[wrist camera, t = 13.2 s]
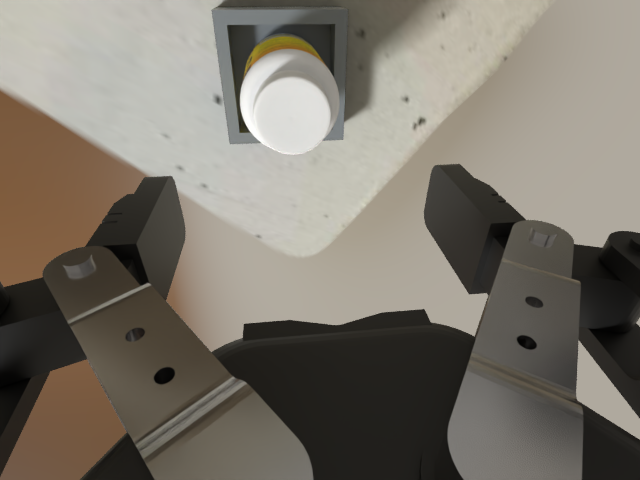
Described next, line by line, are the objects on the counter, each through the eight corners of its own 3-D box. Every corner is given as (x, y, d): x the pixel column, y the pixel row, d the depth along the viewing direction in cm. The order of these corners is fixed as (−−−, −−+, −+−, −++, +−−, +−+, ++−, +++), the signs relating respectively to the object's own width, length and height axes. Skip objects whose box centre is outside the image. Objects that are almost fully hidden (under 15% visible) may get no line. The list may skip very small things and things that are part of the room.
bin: (216, 7, 25) (211, 9, 23) (340, 6, 26) (348, 9, 24) (232, 130, 30) (229, 144, 28) (337, 127, 31) (343, 139, 29)
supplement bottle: (240, 33, 26) (228, 59, 17) (322, 30, 26) (349, 54, 18) (250, 116, 29) (244, 172, 20) (323, 112, 29) (346, 166, 21)
